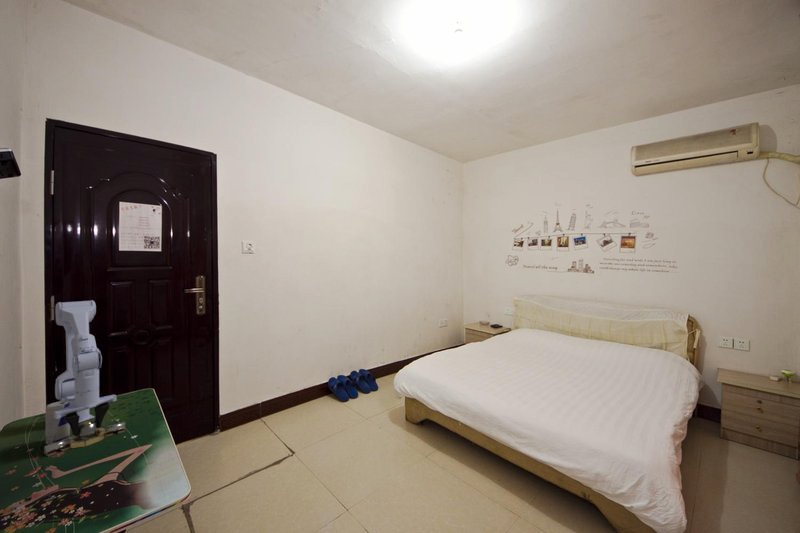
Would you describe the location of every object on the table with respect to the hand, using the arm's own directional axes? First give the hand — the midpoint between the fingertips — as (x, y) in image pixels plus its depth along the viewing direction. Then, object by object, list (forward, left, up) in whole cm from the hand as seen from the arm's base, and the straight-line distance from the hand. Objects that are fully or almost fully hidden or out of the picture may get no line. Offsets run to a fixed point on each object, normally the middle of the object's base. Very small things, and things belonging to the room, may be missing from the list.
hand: (87, 431), depth 102 cm
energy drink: (-8, -5, -3) cm, 10 cm away
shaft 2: (+2, +6, -3) cm, 7 cm away
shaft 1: (0, -7, -3) cm, 7 cm away
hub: (0, 0, -3) cm, 3 cm away
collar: (0, 0, -3) cm, 3 cm away
